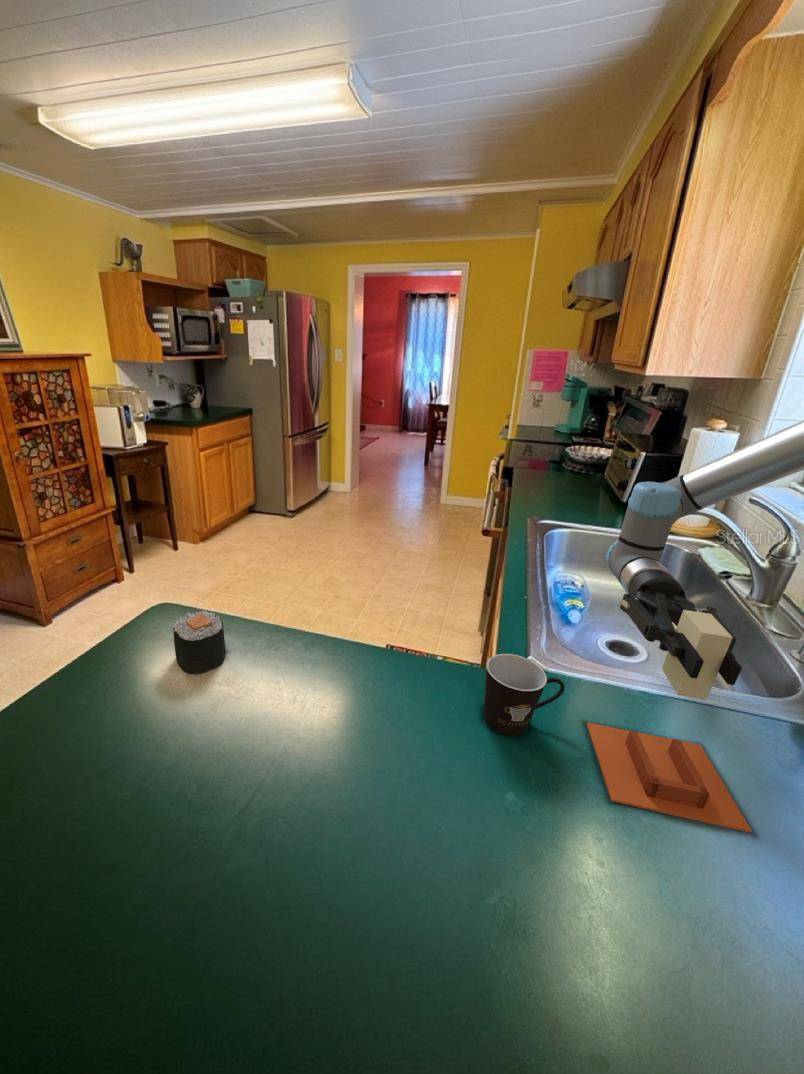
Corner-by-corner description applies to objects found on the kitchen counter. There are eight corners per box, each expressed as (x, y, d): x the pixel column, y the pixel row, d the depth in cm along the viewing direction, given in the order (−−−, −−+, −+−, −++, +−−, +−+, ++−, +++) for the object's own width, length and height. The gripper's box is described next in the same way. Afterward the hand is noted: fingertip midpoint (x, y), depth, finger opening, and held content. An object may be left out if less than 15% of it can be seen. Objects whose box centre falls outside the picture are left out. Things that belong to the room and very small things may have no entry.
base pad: (698, 750, 71) (706, 731, 69) (748, 837, 58) (760, 816, 57) (585, 728, 74) (590, 709, 72) (609, 806, 61) (617, 785, 60)
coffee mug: (471, 733, 71) (482, 679, 68) (480, 698, 79) (490, 648, 75) (553, 760, 67) (569, 705, 64) (554, 720, 75) (569, 669, 71)
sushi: (210, 640, 89) (207, 603, 86) (232, 661, 84) (231, 623, 81) (168, 656, 84) (164, 617, 81) (189, 680, 79) (185, 639, 76)
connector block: (687, 673, 69) (711, 613, 65) (706, 700, 63) (733, 637, 59) (661, 668, 69) (683, 609, 66) (677, 695, 64) (702, 632, 60)
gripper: (698, 615, 80) (779, 710, 59) (594, 599, 83) (635, 683, 62) (713, 576, 77) (804, 660, 56) (605, 561, 81) (652, 635, 59)
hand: (715, 672), depth 59 cm, fingers closed on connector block, 3 cm apart
